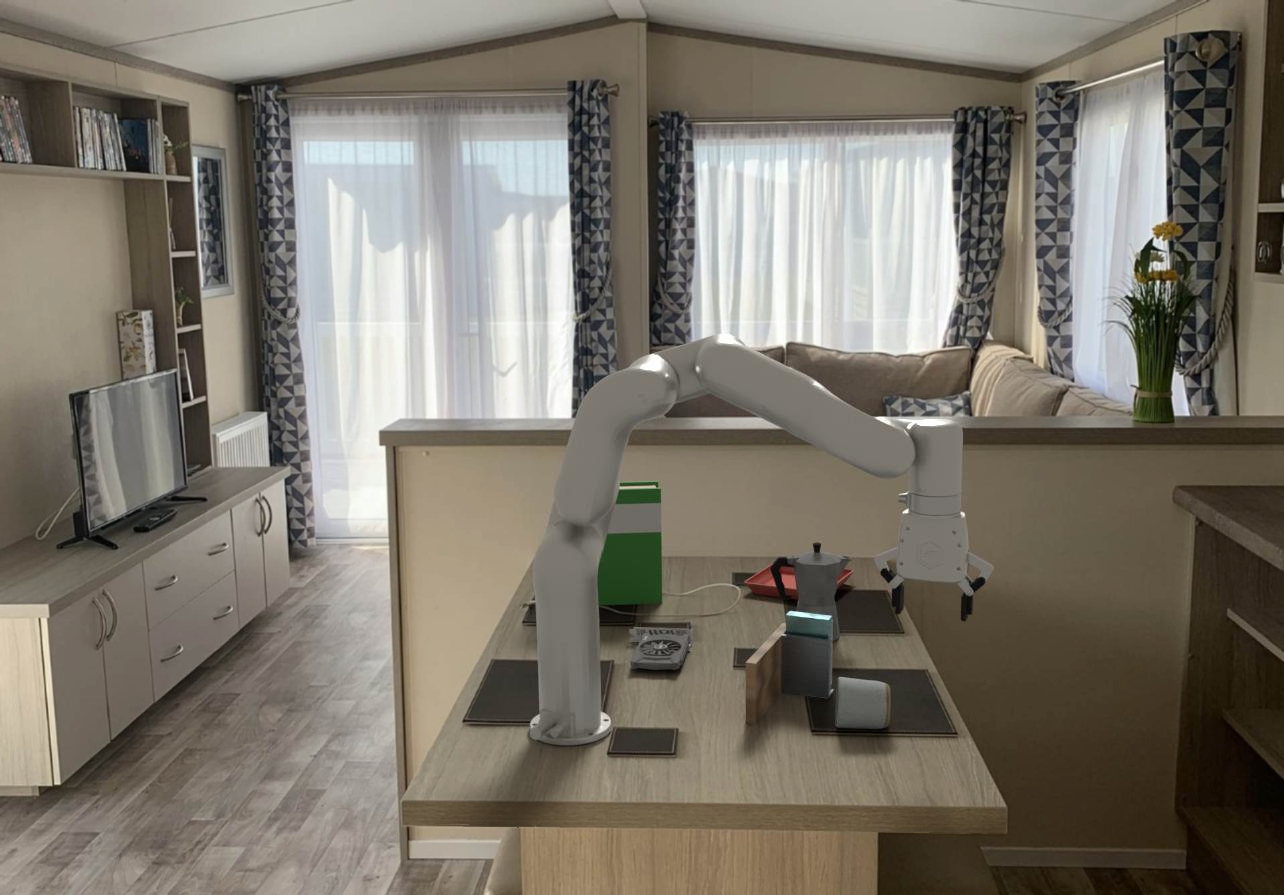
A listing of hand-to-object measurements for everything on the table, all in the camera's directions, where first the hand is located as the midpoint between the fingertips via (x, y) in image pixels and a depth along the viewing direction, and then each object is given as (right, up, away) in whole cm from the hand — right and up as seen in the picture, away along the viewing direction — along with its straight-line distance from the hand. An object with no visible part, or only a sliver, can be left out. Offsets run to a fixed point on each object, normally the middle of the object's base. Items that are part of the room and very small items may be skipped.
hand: (931, 615), depth 185 cm
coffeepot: (-12, -11, +48) cm, 50 cm away
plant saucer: (-10, -5, +77) cm, 78 cm away
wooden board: (-23, -16, +17) cm, 32 cm away
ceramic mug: (-9, -18, +8) cm, 22 cm away
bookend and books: (-15, -15, +21) cm, 30 cm away
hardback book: (-48, -7, +71) cm, 86 cm away
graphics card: (-41, -13, +37) cm, 57 cm away
